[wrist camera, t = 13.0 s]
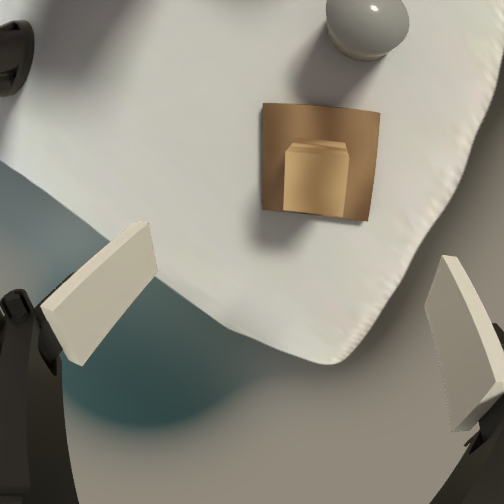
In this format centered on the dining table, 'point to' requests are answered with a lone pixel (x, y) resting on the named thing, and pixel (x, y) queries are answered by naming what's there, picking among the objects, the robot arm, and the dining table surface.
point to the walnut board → (328, 129)
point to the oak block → (316, 177)
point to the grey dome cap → (366, 26)
